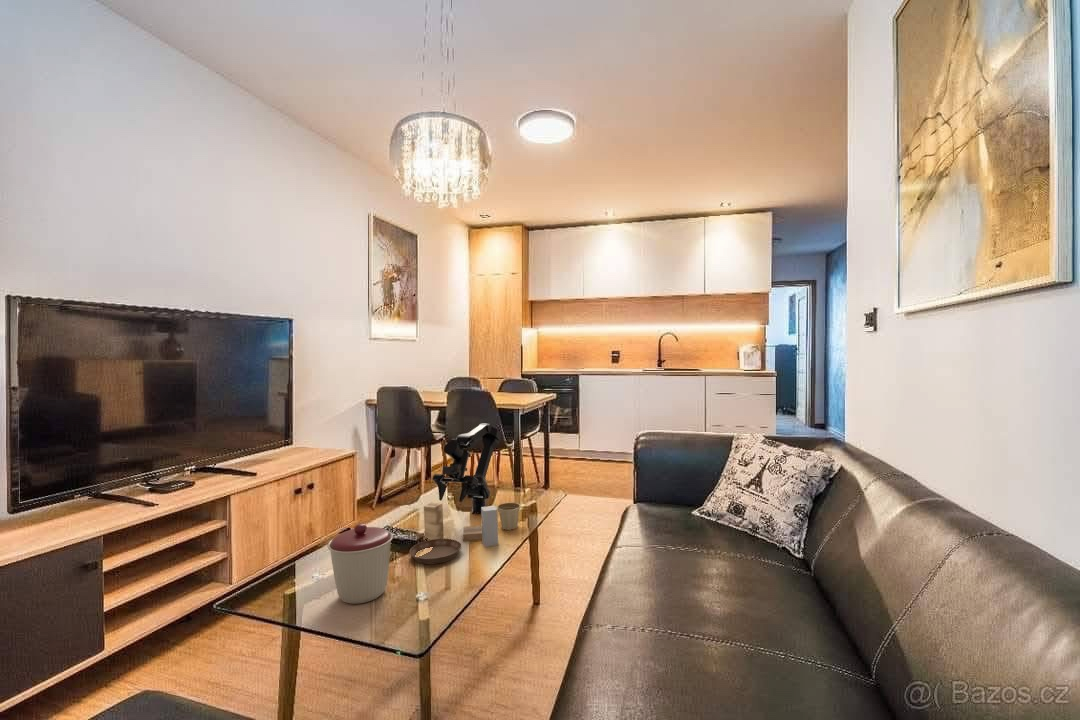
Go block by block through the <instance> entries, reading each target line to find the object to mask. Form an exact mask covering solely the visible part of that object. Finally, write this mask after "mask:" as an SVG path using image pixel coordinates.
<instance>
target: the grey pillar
mask: <svg viewBox="0 0 1080 720" xmlns="http://www.w3.org/2000/svg"><path fill="white" fill-rule="evenodd" d="M480 515H481V526H482V540H481V543H482V544H483V546H484V548H487V547H493V546H499V529H498V528H499V525H498V509H497V506H495V505H489V506H486V507H481V513H480Z"/></svg>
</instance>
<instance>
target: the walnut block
mask: <svg viewBox="0 0 1080 720" xmlns="http://www.w3.org/2000/svg"><path fill="white" fill-rule="evenodd" d="M462 529H463V531H462V542H475V541H482V525H475V526H473V525H472V526H464V527H463V528H462Z"/></svg>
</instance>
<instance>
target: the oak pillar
mask: <svg viewBox="0 0 1080 720" xmlns="http://www.w3.org/2000/svg"><path fill="white" fill-rule="evenodd" d="M443 507H444V505H443V502H440V503H439V502H435V501H434V502H432V501H431V502H429V503H427V504H425V505H424V506H423V522H424V524H423V525H424V538H425V537H427V538H428V539H430V540H433V539H441V538H442V539H444V533H445V532H444V508H443Z"/></svg>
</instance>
